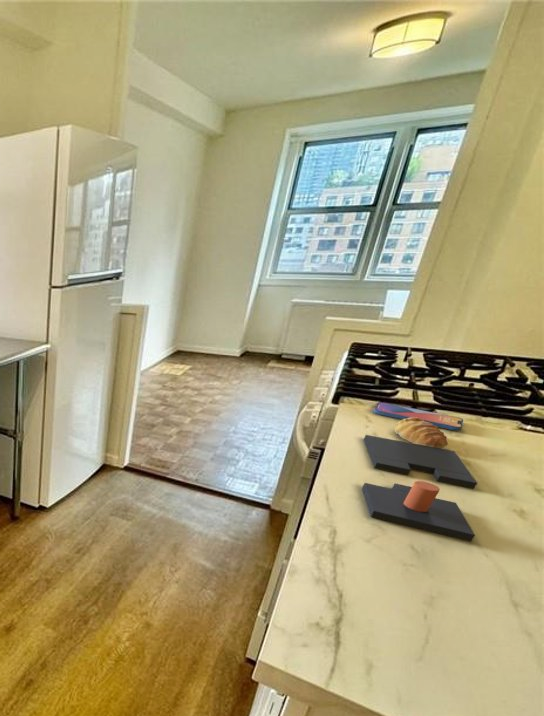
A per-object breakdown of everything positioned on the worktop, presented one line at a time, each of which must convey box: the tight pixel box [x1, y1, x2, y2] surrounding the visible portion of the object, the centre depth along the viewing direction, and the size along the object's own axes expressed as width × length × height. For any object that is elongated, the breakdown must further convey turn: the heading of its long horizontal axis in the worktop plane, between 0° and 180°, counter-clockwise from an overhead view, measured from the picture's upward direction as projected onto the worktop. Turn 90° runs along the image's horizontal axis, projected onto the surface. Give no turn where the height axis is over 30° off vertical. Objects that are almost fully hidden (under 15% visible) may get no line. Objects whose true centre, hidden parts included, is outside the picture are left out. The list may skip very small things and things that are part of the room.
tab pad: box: [361, 480, 476, 542], centre depth 78 cm, size 12×12×5 cm
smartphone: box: [373, 401, 464, 432], centre depth 111 cm, size 7×15×1 cm, turn 45°
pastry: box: [393, 417, 449, 449], centre depth 100 cm, size 9×7×4 cm
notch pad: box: [363, 434, 478, 489], centre depth 93 cm, size 14×14×1 cm
